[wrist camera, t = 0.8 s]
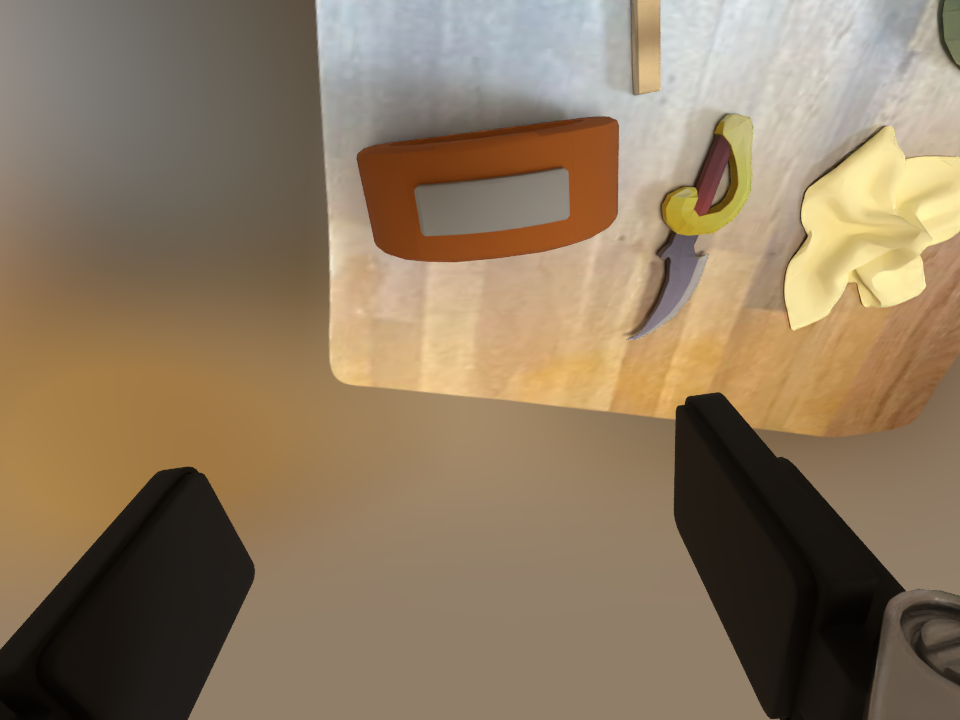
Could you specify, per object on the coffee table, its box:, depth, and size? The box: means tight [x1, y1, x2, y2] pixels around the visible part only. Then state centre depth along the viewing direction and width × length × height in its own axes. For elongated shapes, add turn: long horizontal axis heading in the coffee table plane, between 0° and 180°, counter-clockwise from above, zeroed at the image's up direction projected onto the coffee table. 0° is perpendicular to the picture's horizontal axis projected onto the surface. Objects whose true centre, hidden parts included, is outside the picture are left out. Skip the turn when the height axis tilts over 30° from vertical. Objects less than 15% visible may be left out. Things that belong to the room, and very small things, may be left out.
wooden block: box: [631, 0, 660, 95], centre depth 44 cm, size 10×2×2 cm, turn 10°
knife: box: [626, 114, 753, 340], centre depth 53 cm, size 8×3×25 cm
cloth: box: [784, 126, 960, 330], centre depth 51 cm, size 22×19×6 cm
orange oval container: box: [357, 117, 619, 262], centre depth 43 cm, size 23×9×17 cm, turn 97°
